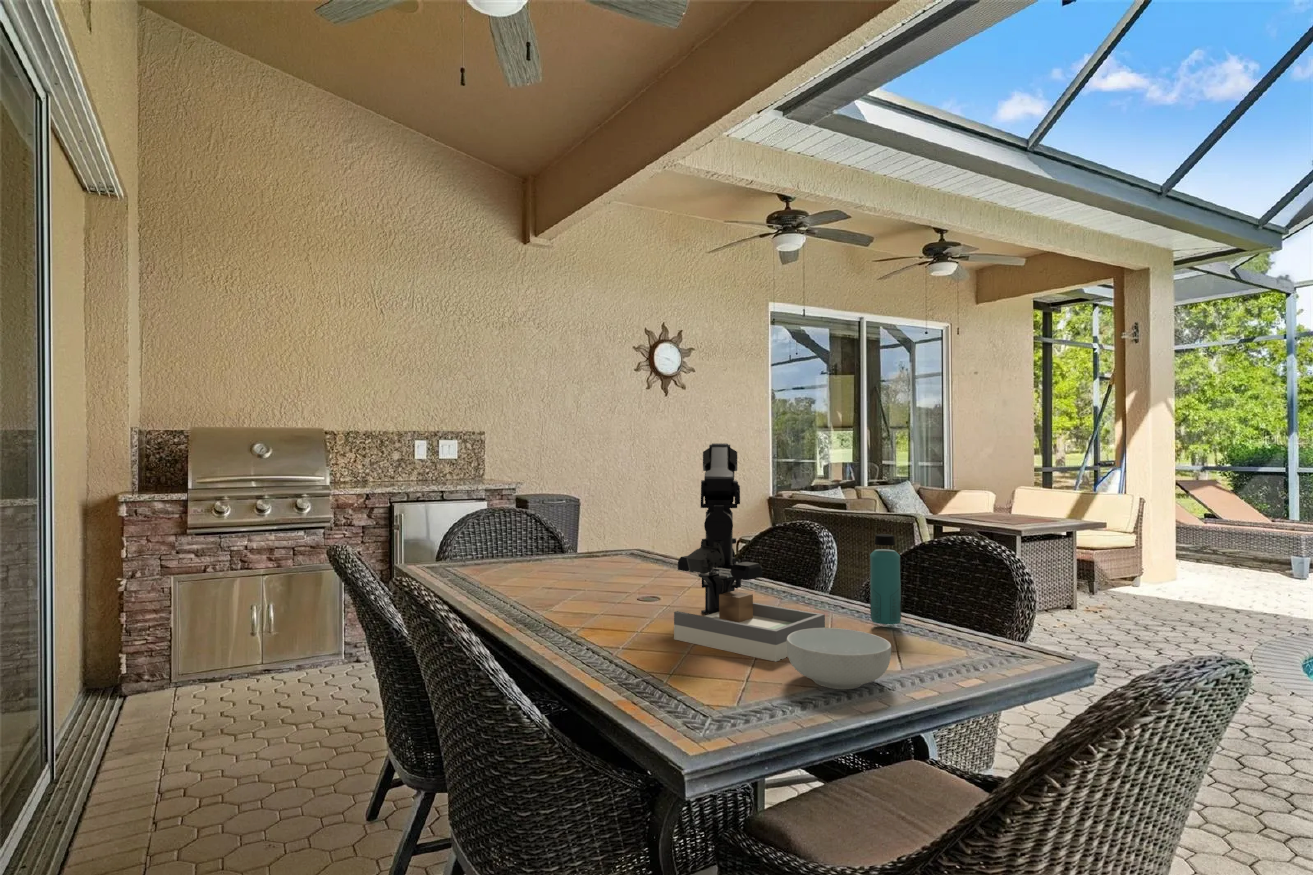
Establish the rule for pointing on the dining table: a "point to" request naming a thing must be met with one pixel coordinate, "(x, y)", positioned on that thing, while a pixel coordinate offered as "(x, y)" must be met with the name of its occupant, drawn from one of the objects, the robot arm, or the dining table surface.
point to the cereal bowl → (838, 656)
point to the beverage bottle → (885, 583)
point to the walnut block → (735, 606)
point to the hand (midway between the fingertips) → (718, 607)
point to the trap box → (747, 630)
